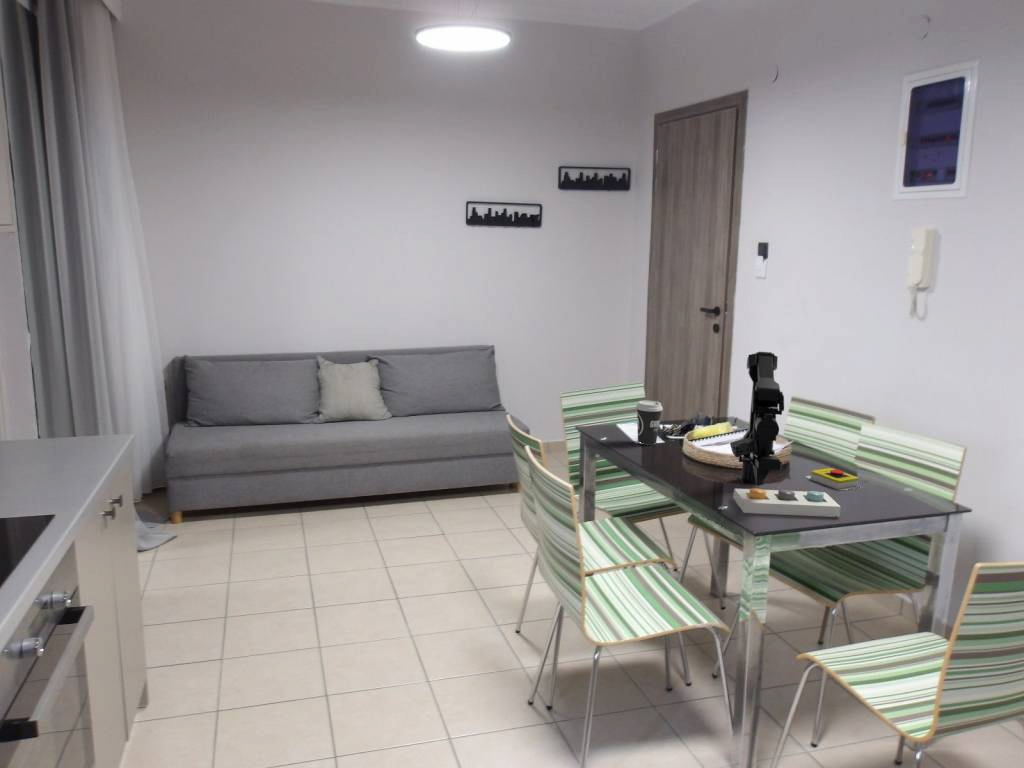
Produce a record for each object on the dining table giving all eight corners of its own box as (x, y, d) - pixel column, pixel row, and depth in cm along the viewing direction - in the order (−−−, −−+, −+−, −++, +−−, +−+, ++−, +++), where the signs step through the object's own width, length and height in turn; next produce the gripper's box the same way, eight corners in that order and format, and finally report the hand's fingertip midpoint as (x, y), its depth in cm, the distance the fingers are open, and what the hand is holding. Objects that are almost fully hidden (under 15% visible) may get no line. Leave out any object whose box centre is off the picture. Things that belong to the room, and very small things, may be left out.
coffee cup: (645, 448, 282) (647, 406, 279) (628, 441, 290) (630, 401, 287) (665, 445, 286) (668, 404, 283) (648, 438, 294) (651, 399, 292)
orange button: (747, 496, 226) (747, 488, 226) (762, 497, 226) (763, 488, 226) (751, 501, 222) (752, 493, 222) (767, 502, 222) (767, 493, 221)
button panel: (733, 498, 231) (734, 488, 230) (824, 502, 230) (825, 492, 229) (743, 512, 219) (744, 502, 218) (839, 517, 218) (840, 506, 217)
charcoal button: (775, 497, 226) (776, 489, 226) (791, 498, 226) (792, 490, 226) (780, 503, 222) (781, 494, 221) (796, 503, 222) (796, 495, 221)
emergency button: (843, 478, 240) (805, 465, 253) (841, 492, 241) (803, 478, 254) (864, 475, 244) (825, 462, 257) (863, 489, 245) (824, 475, 258)
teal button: (804, 499, 226) (804, 490, 225) (819, 499, 226) (820, 491, 225) (809, 504, 222) (810, 495, 221) (825, 504, 221) (826, 496, 221)
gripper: (726, 421, 230) (722, 473, 233) (742, 438, 212) (737, 494, 215) (765, 423, 230) (760, 475, 233) (785, 440, 211) (779, 496, 214)
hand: (758, 484), depth 223 cm, fingers closed
